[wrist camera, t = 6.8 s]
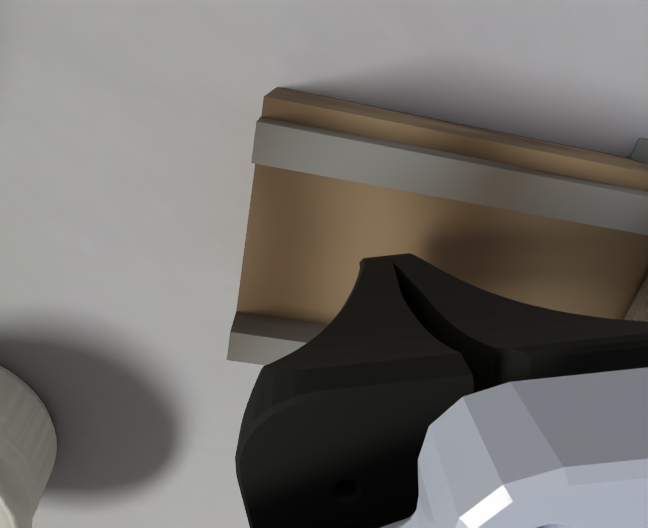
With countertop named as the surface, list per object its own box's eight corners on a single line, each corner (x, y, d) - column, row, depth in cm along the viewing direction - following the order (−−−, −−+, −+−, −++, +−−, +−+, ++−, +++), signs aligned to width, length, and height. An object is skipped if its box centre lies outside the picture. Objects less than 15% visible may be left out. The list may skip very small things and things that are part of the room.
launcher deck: (629, 158, 18) (781, 202, 12) (551, 329, 21) (641, 428, 15) (276, 87, 16) (259, 99, 11) (249, 282, 19) (225, 372, 14)
